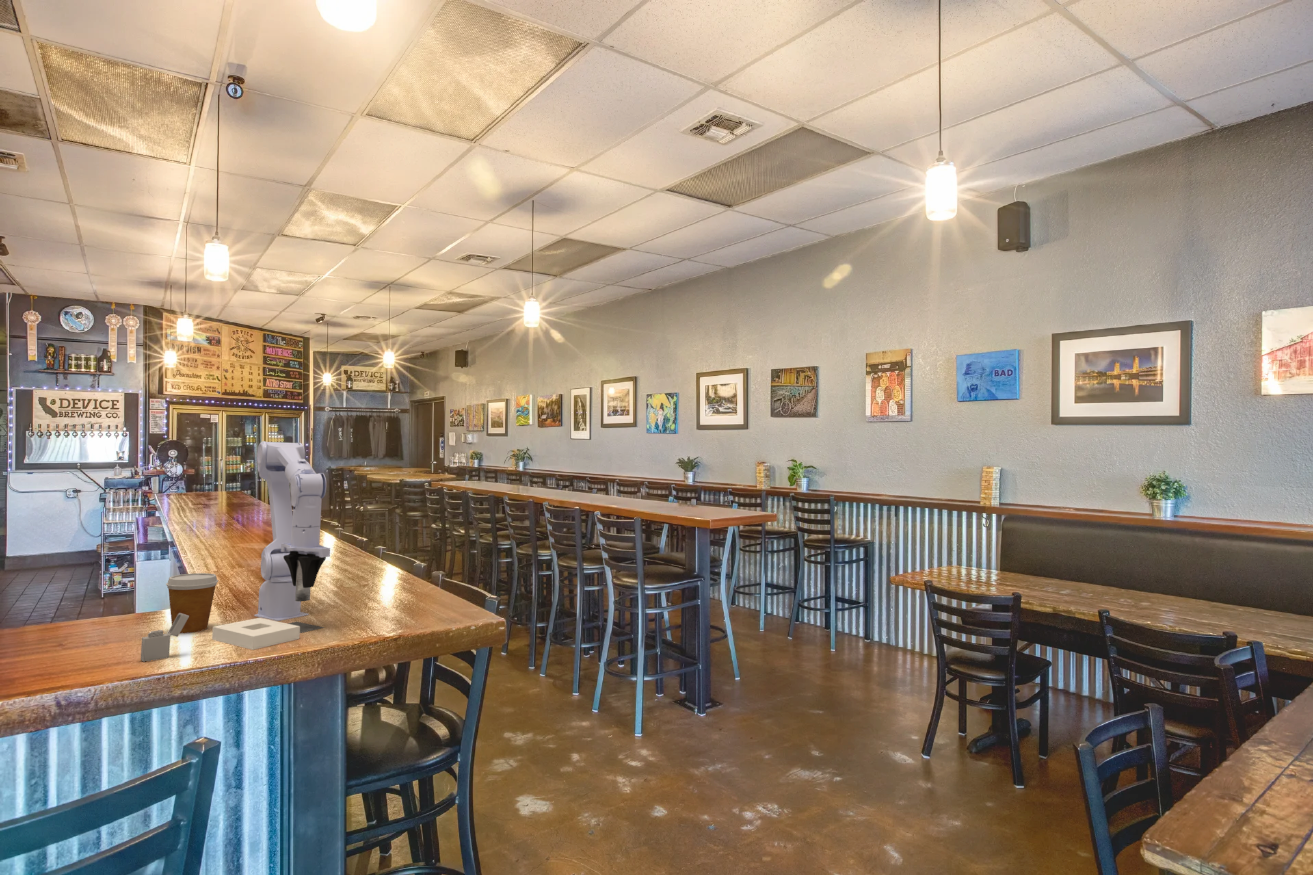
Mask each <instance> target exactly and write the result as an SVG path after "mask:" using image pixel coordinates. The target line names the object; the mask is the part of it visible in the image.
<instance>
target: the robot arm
mask: <svg viewBox="0 0 1313 875" xmlns="http://www.w3.org/2000/svg"><path fill="white" fill-rule="evenodd" d="M256 452H257V454H256V463H257V472H258V474H259V478H261V479H263V480H264V481H266V485H267V489H268V490H267V491H268V497H269V510H270V520H271V528H272V529H271V531H272V542H270V543H269V544H268V545H267V546H265V547H264V548H263V550H262V552H261V555H260V556H261V557H260V558H261V562H260V575H261V577H262V578H263V579H264V582H263V583H262V584H261V585H260V588H259V589H258V605H257V606H258V608H257V614H253V616H254V617H257V618H263V619H268V620H273V621H277V622H282V621H285V620H289V619H295V618H300V617H304V616H305V617H306V616H309V613H307V612H303V611H301V607H302V601H295V593H296V572H297V560H299V562H300V565H301V569H302V582H303V588H309V587H311V588H314V586H315V582H316V580H317V576H318V575H319V574H318V573H319V571H320V569H321V567H322V565H323V563H325V561H326V559H327V558H328V557H330V556H331V547H327V546H324V545H320V542H321V541H320V539H321V518H322V503H323V502H322V501H323V500H322V499H323V498H324V497H325V496H326V494H327V493H326V492H327V478H326V476H325V473H324V472H319V473H317V472H316V471H315V469H313V468H314V467H312V464H310V463H309V462H308V461H307V460H306V459H305V457H306V450H305V445H304V444H303V443H301V442H277V441H276V442H275V441H265V440H264V441H263V440H262V441H261V442H260V443H259V444H258V446H257V451H256Z"/></svg>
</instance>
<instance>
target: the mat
mask: <svg viewBox="0 0 1313 875" xmlns="http://www.w3.org/2000/svg"><path fill="white" fill-rule="evenodd" d="M287 624H291V625H296V626H300V634H303V633H308V632H312V631H316V630H321V629H324V628H326V627H324V626H320V625H316V624H310V623H307V622H301V621H293V622H288V623H287Z"/></svg>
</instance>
